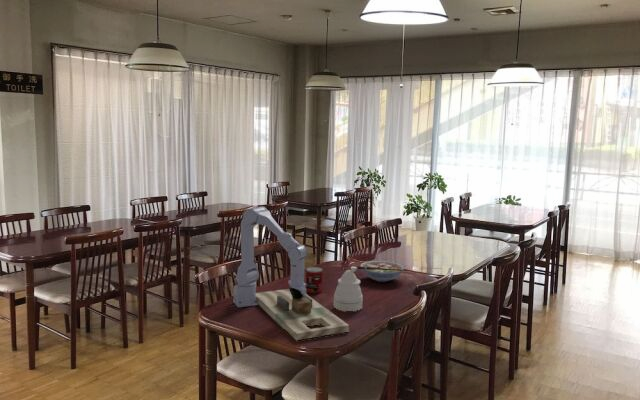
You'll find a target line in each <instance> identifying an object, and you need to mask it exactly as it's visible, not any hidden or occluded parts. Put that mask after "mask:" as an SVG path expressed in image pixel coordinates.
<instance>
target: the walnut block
mask: <svg viewBox="0 0 640 400" xmlns="http://www.w3.org/2000/svg"><path fill="white" fill-rule="evenodd" d="M292 310H293V311H294V312H295V313H296V314H305V313H311V301H309V300H308V299H307V298H298V299H292Z"/></svg>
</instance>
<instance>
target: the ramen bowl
mask: <svg viewBox="0 0 640 400" xmlns="http://www.w3.org/2000/svg"><path fill="white" fill-rule="evenodd" d="M404 268H405V267H404V266H403V265H402V264H399V263H397V262H393V261H385V260H370V261H365V262H362V263H361V264H360V265H359V266H357V270H362V272H363V273H364V275H365V276H366V277H368V278H370V279H372V280H374V281H376V282H379V283H386V282H389V281H392V280H394V279H397V278H398V277H399V276H400V275H401V274H402V272H403V271H405V272H408V271H407V269H404Z"/></svg>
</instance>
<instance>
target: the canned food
mask: <svg viewBox="0 0 640 400" xmlns="http://www.w3.org/2000/svg"><path fill="white" fill-rule="evenodd" d="M305 270H306V271H305V275H306V276H305V283H306V284H307V285H306V286H305V288H306V293H307V294H319V293H321V292H322V291H323V268H322V267H318V266H317V267H316V266H312V267H311V266H309V267H307V268H306V269H305Z"/></svg>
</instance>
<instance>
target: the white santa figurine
mask: <svg viewBox="0 0 640 400" xmlns="http://www.w3.org/2000/svg"><path fill="white" fill-rule="evenodd" d="M357 270H358V266H351V267H350V269H346V270H345V271H344V273H343V274H342V275H341V277H340V278H339V279H337V283H338V284H337V286H336V288H335V292H334V293H333V308H334V309H335V308H336V309H335V310H337V309H338V310H337V311H340V310H341V311H340V312H346V311H353V312H358V311H361V310H362V309H363V302H364V301H363V297H364V295H363V293H362V289H361V286H360V284H361V280H360V279H358V278H357V276H356V274H355V273H354V272H356V271H357ZM360 309H361V310H360ZM357 310H358V311H357Z"/></svg>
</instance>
